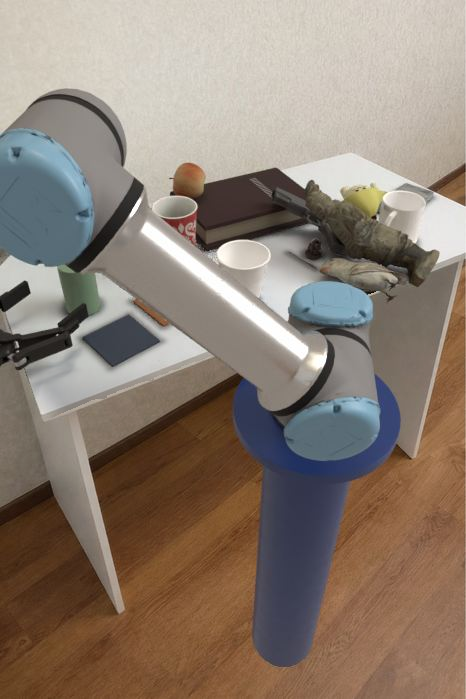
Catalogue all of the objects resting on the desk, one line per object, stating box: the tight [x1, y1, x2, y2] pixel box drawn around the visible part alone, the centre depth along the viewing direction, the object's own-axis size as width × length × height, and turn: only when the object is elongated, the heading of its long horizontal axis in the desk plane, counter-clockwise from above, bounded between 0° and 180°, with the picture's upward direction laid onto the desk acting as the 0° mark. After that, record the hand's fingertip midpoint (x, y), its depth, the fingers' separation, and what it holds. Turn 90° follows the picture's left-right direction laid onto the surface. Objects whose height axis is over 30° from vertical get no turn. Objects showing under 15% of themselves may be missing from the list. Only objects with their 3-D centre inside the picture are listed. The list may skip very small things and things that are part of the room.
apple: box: [168, 162, 206, 199], centre depth 130 cm, size 8×8×8 cm
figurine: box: [288, 237, 323, 269], centre depth 125 cm, size 5×8×4 cm
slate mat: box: [82, 313, 161, 367], centre depth 106 cm, size 10×10×1 cm
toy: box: [339, 182, 389, 221], centre depth 137 cm, size 13×7×15 cm
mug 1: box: [150, 195, 198, 246], centre depth 121 cm, size 13×9×14 cm
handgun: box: [271, 187, 349, 258], centre depth 127 cm, size 3×19×12 cm
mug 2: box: [377, 190, 427, 244], centre depth 128 cm, size 12×9×9 cm
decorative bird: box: [319, 257, 409, 305], centre depth 117 cm, size 5×16×7 cm
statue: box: [304, 179, 441, 288], centre depth 119 cm, size 11×9×30 cm
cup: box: [215, 239, 272, 299], centre depth 111 cm, size 10×10×11 cm
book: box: [169, 167, 310, 252], centre depth 137 cm, size 28×20×6 cm
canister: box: [56, 264, 101, 316], centre depth 110 cm, size 6×6×10 cm
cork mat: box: [132, 298, 171, 327], centre depth 114 cm, size 10×10×1 cm
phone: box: [377, 182, 435, 214], centre depth 144 cm, size 8×16×1 cm, turn 140°
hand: (56, 297), depth 106 cm, fingers open, 13 cm apart
